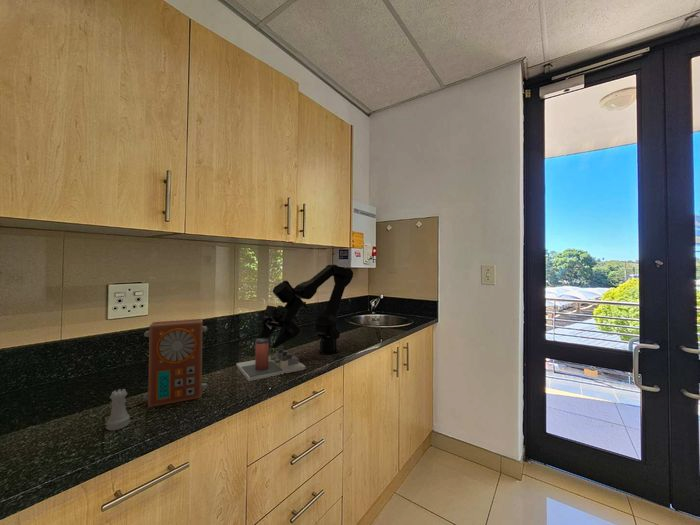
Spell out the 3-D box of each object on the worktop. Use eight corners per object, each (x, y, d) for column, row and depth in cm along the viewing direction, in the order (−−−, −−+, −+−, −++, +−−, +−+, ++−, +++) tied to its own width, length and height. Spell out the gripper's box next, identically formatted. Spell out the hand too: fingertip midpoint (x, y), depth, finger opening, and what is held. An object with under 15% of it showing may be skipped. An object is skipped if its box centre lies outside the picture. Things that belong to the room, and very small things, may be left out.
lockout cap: (261, 365, 104) (261, 337, 104) (271, 367, 102) (271, 338, 102) (252, 369, 100) (252, 340, 100) (262, 371, 98) (262, 341, 98)
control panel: (206, 398, 81) (141, 410, 74) (206, 388, 87) (146, 399, 80) (207, 321, 81) (143, 326, 74) (207, 317, 88) (147, 321, 81)
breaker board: (287, 357, 118) (287, 346, 118) (305, 369, 104) (305, 356, 104) (236, 366, 107) (236, 354, 107) (248, 381, 93) (248, 366, 93)
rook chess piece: (100, 429, 65) (101, 393, 65) (122, 419, 69) (123, 386, 69) (113, 433, 63) (114, 396, 64) (134, 423, 68) (135, 388, 68)
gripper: (263, 295, 113) (236, 328, 104) (294, 298, 101) (266, 336, 92) (280, 313, 118) (256, 346, 110) (311, 318, 106) (287, 355, 98)
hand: (265, 345), depth 102 cm, fingers open, 9 cm apart
